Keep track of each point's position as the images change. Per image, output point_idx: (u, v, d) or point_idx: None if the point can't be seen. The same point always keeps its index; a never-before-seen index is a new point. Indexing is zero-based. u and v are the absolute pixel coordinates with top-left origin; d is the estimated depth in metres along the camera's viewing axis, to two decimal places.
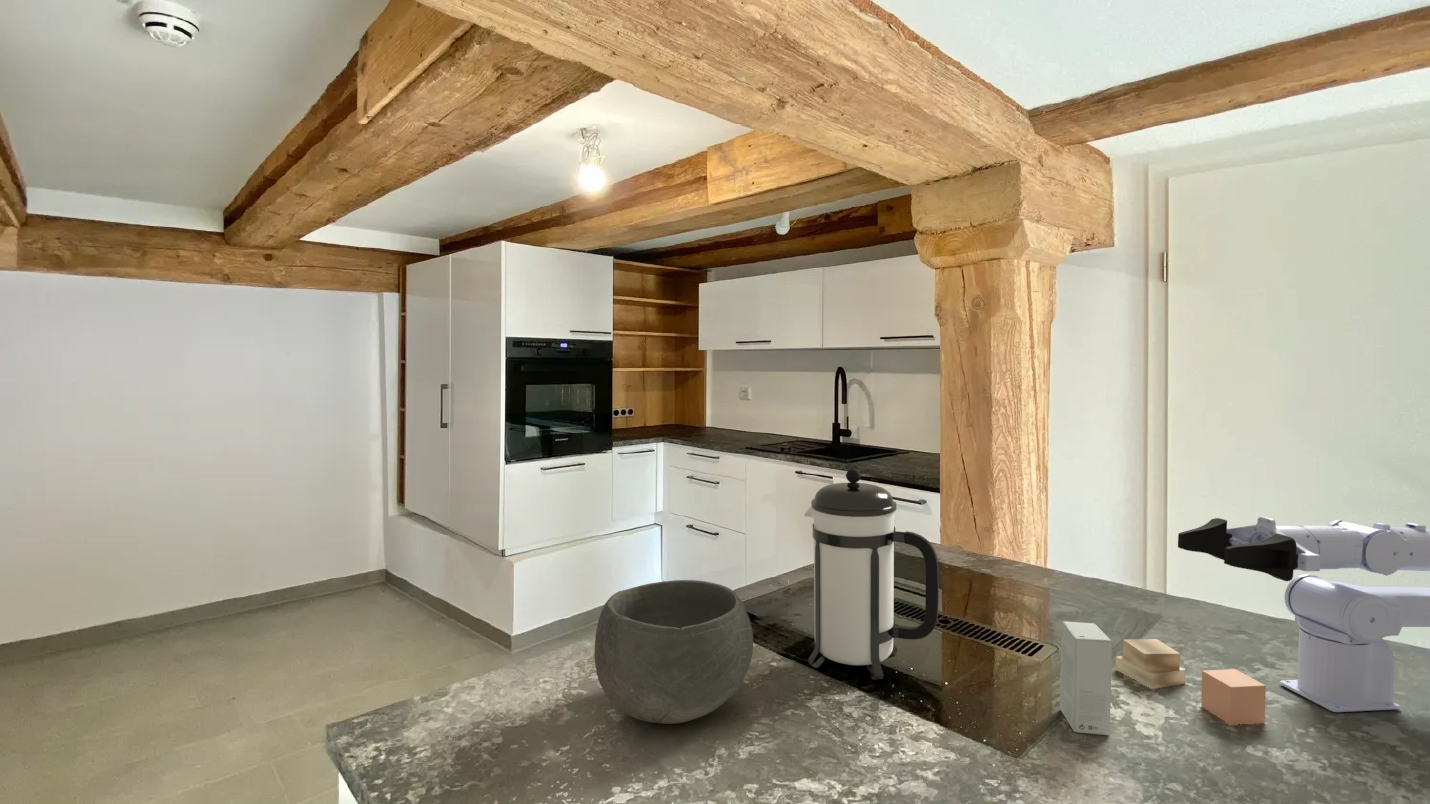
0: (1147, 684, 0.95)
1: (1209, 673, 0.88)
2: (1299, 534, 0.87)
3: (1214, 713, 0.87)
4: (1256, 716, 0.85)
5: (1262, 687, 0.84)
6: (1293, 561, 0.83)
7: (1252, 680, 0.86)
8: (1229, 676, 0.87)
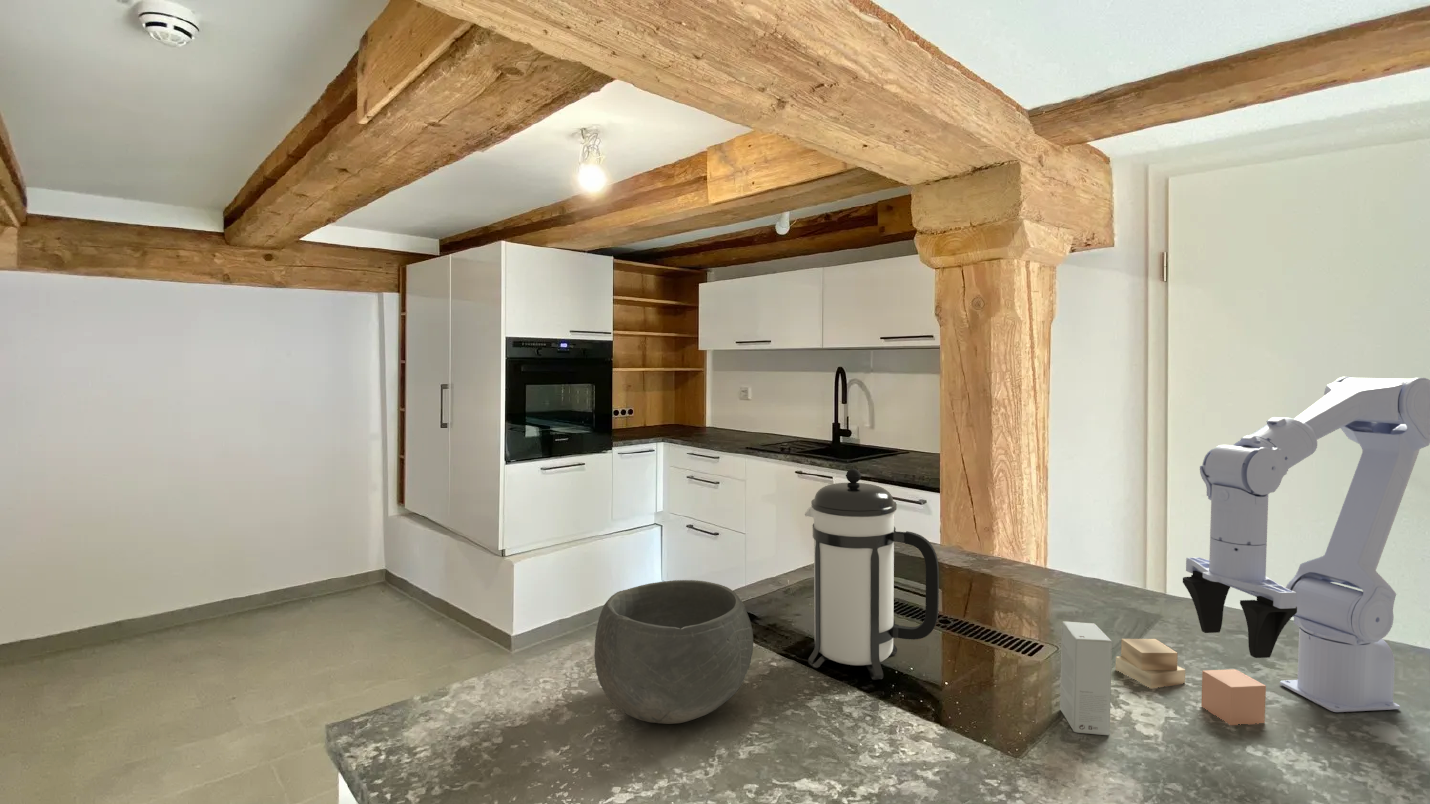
0: (1147, 684, 0.95)
1: (1209, 673, 0.88)
2: (1232, 557, 0.84)
3: (1214, 713, 0.87)
4: (1256, 716, 0.85)
5: (1262, 687, 0.84)
6: (1279, 609, 0.80)
7: (1252, 680, 0.86)
8: (1229, 676, 0.87)
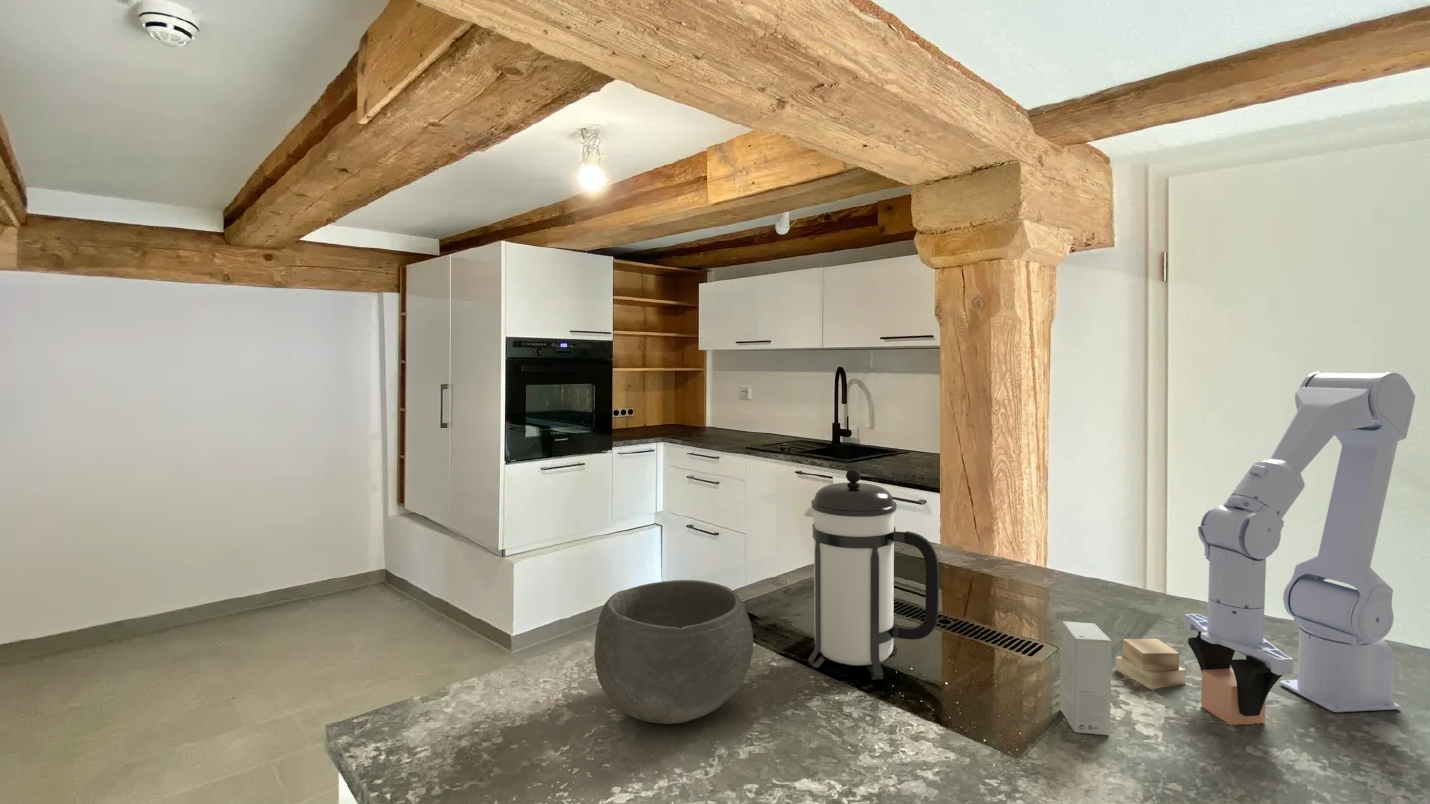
0: (1147, 684, 0.94)
1: (1209, 672, 0.88)
2: (1230, 620, 0.84)
3: (1214, 712, 0.87)
4: None
5: None
6: (1268, 670, 0.82)
7: None
8: (1229, 676, 0.87)
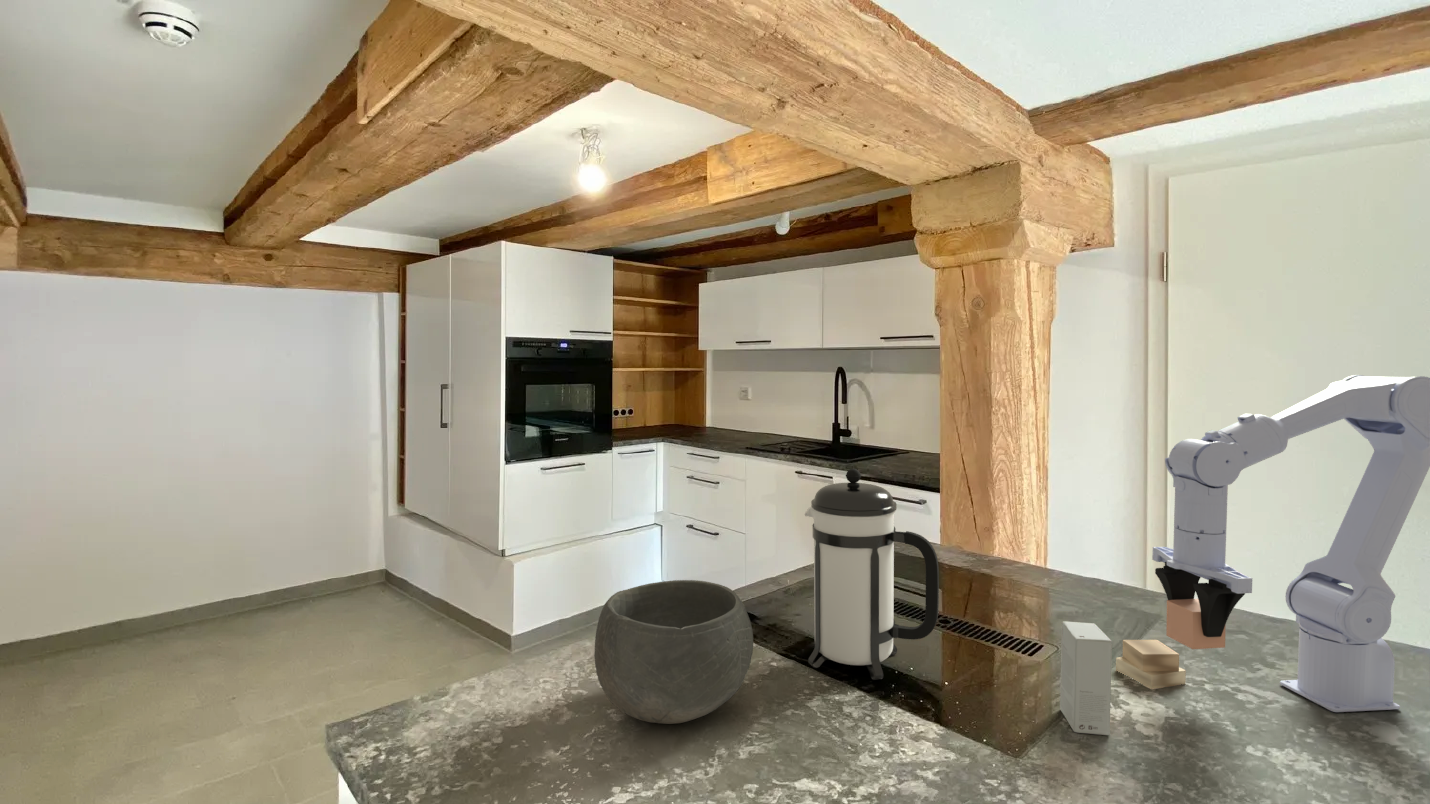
0: (1147, 685, 0.94)
1: (1173, 602, 0.92)
2: (1194, 545, 0.88)
3: (1178, 639, 0.91)
4: (1217, 640, 0.89)
5: None
6: (1229, 591, 0.86)
7: None
8: (1191, 604, 0.91)
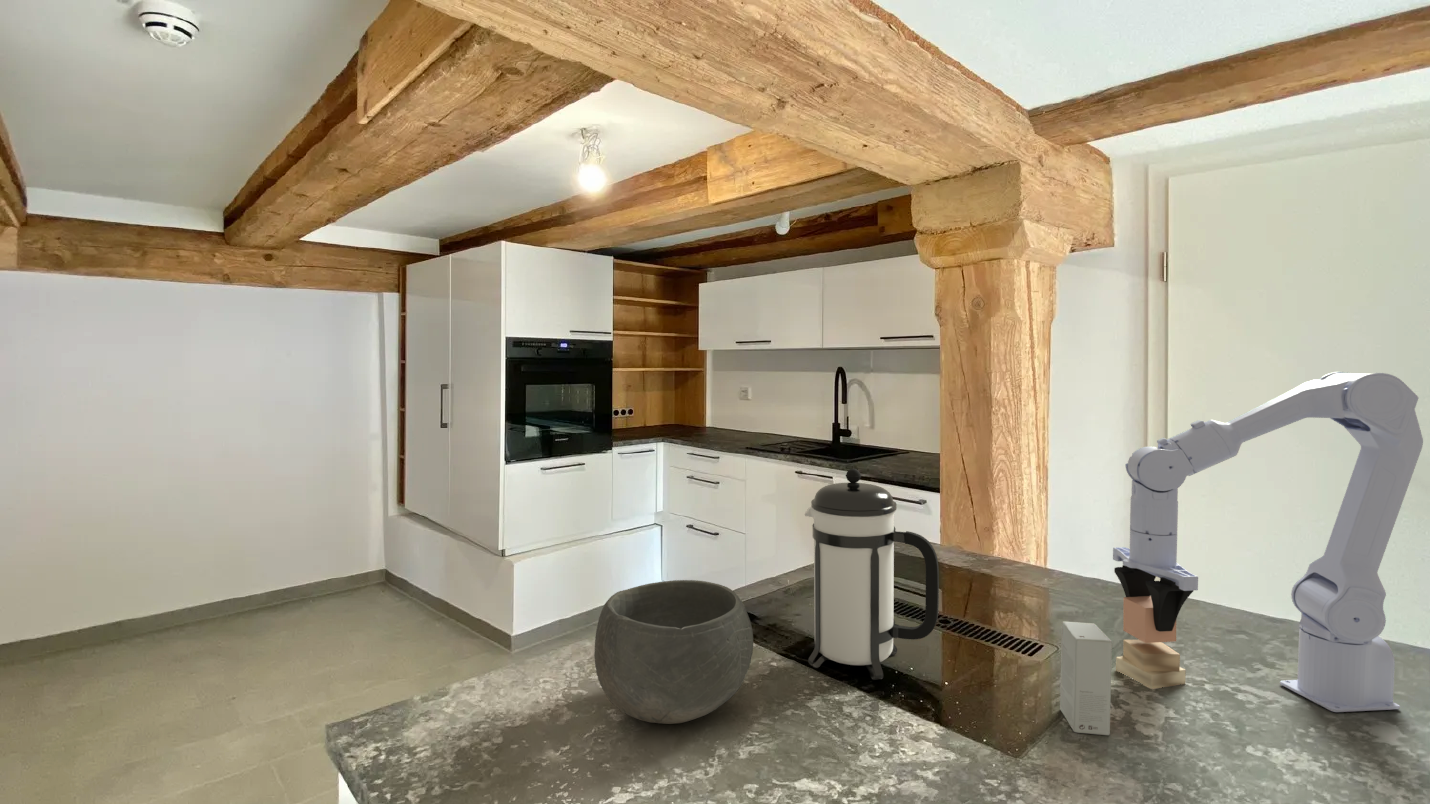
0: (1147, 684, 0.94)
1: (1129, 599, 0.98)
2: (1147, 546, 0.95)
3: (1133, 634, 0.97)
4: (1168, 634, 0.95)
5: None
6: (1177, 588, 0.92)
7: None
8: (1146, 601, 0.97)
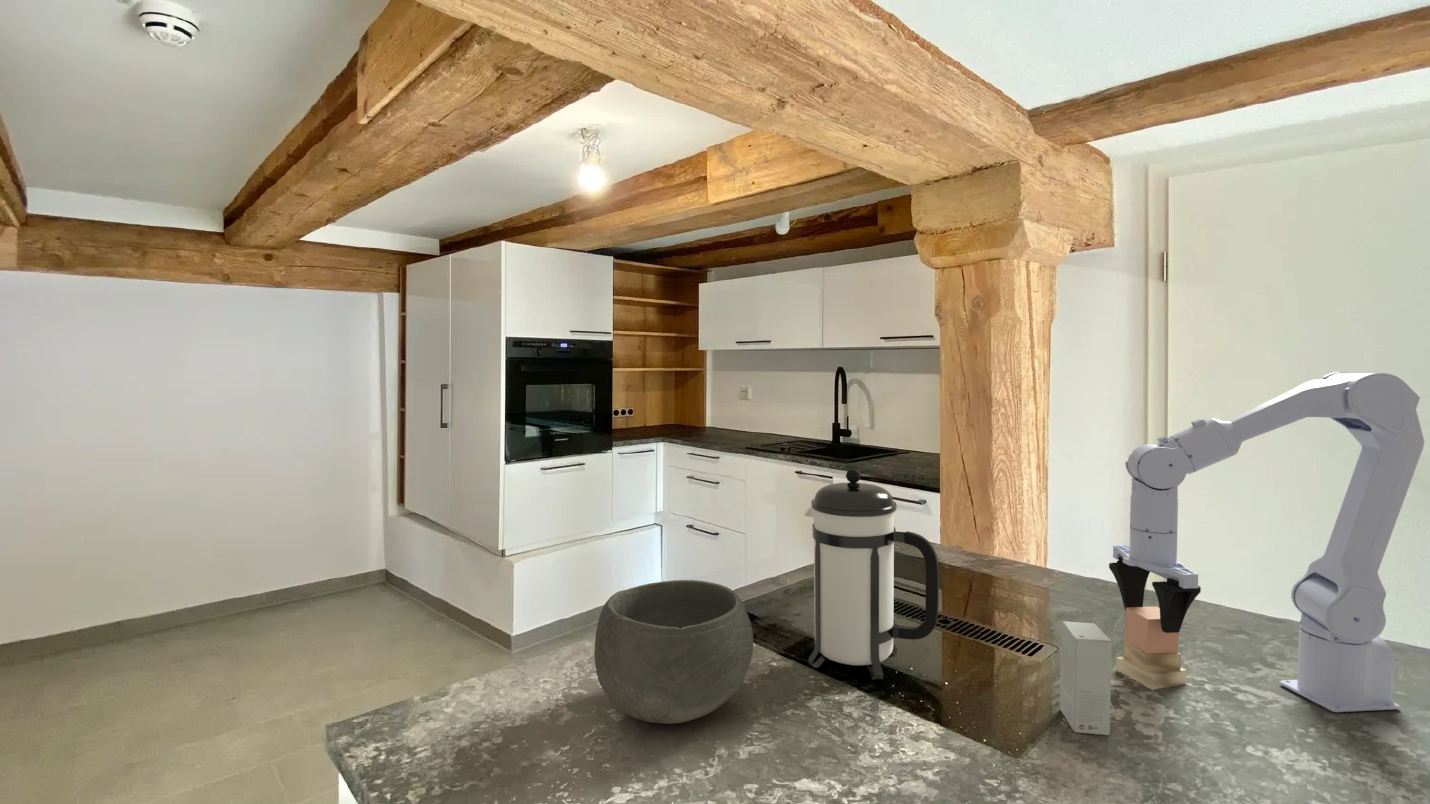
0: (1148, 685, 0.94)
1: (1131, 609, 0.98)
2: (1147, 544, 0.95)
3: (1135, 644, 0.97)
4: (1170, 645, 0.95)
5: None
6: (1184, 589, 0.91)
7: None
8: (1148, 611, 0.97)
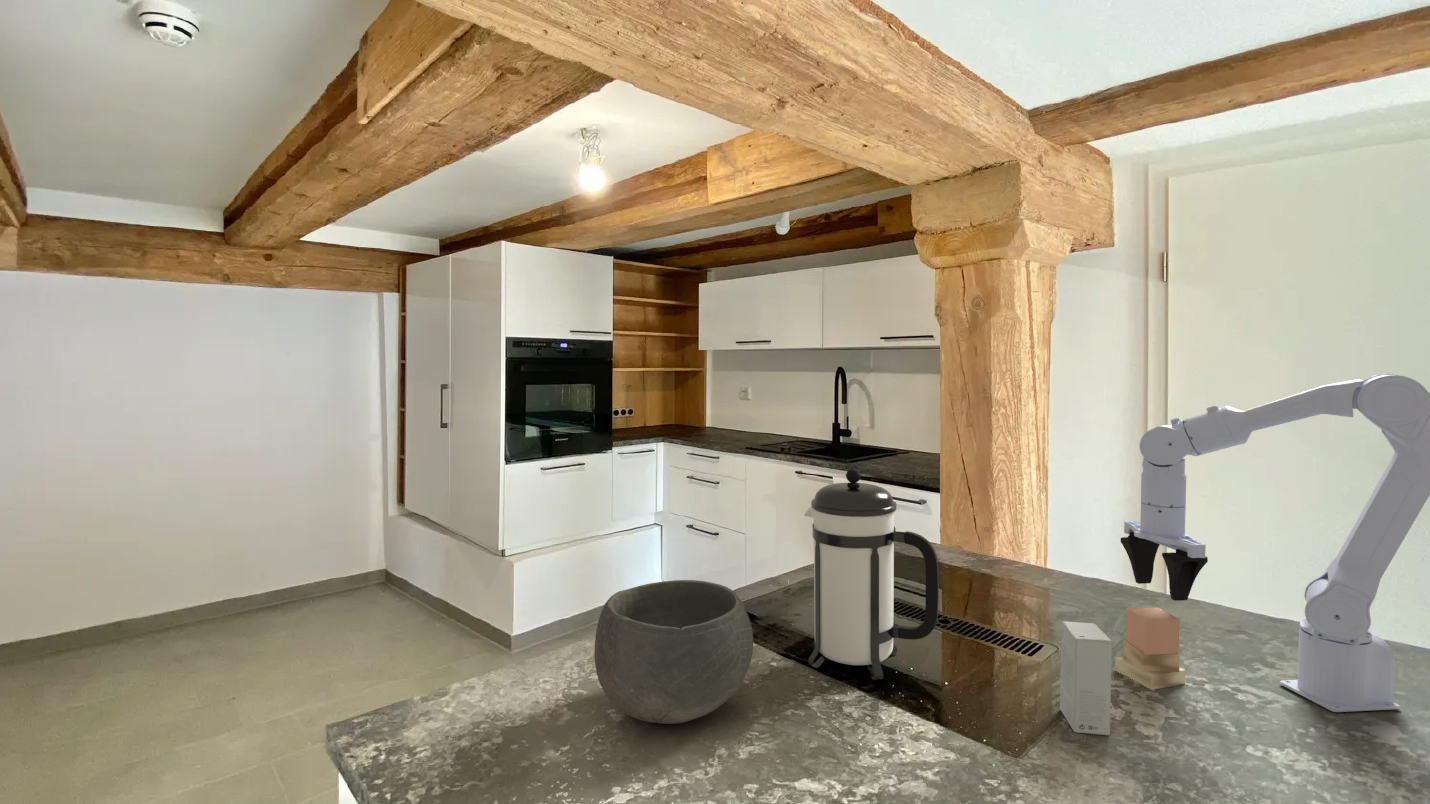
0: (1147, 685, 0.94)
1: (1132, 610, 0.98)
2: (1157, 517, 1.01)
3: (1135, 645, 0.97)
4: (1170, 646, 0.95)
5: (1176, 621, 0.94)
6: (1192, 559, 0.97)
7: (1169, 615, 0.96)
8: (1149, 612, 0.97)
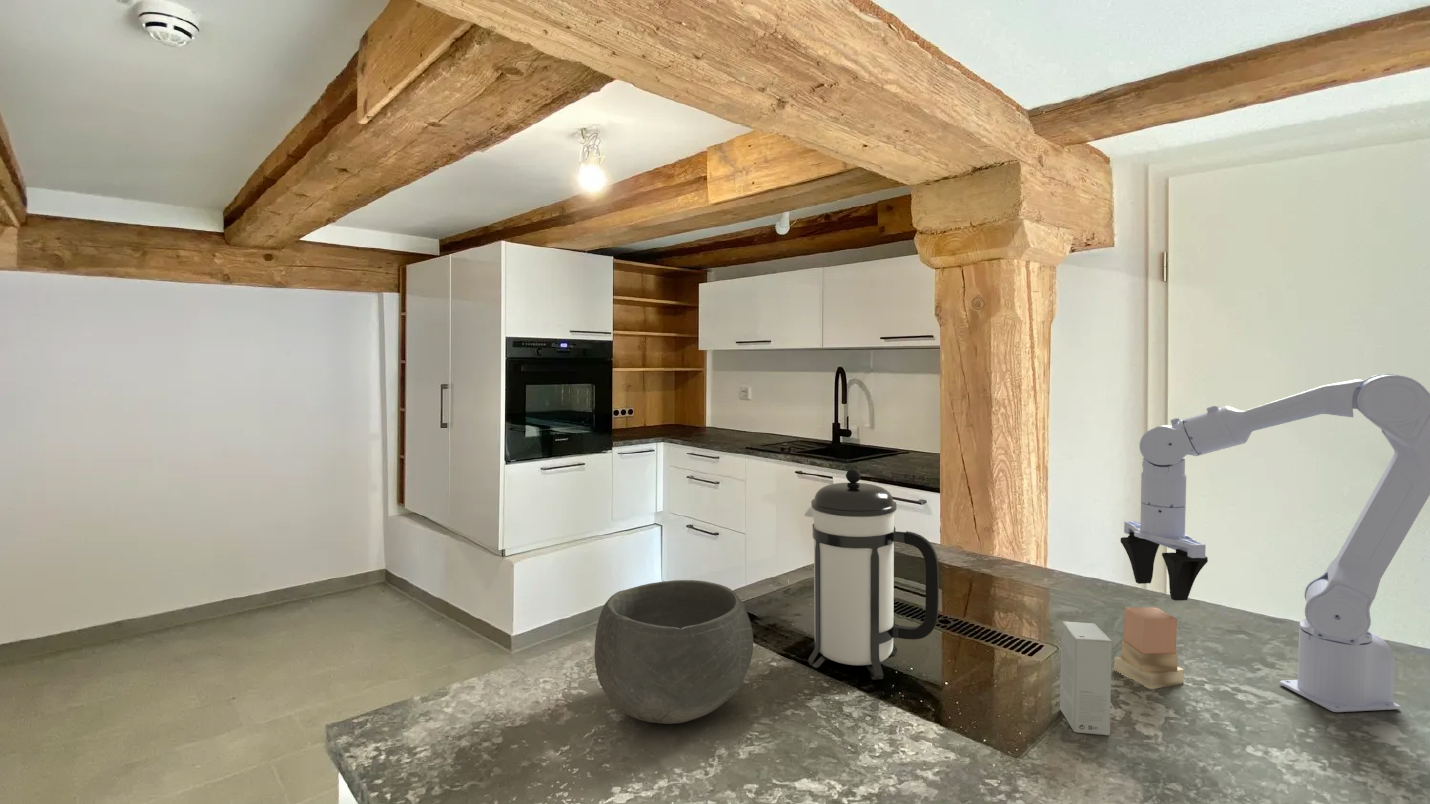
0: (1146, 685, 0.94)
1: (1130, 609, 0.98)
2: (1157, 517, 1.01)
3: (1132, 644, 0.97)
4: (1168, 646, 0.95)
5: (1173, 620, 0.95)
6: (1192, 559, 0.97)
7: (1167, 615, 0.96)
8: (1147, 612, 0.97)
